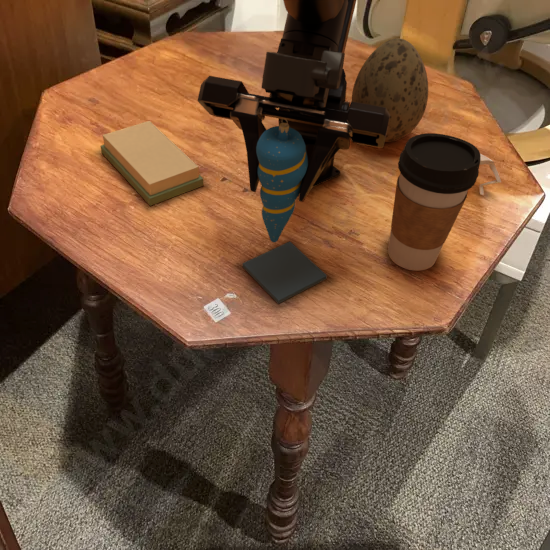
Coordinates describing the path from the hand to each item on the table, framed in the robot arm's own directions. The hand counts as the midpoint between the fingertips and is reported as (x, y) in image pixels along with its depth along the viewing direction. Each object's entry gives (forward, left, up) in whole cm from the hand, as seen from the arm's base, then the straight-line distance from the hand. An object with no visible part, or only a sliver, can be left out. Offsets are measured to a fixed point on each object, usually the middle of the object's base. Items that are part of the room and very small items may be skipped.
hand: (276, 196), depth 61 cm
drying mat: (-2, 0, -12) cm, 12 cm away
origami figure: (-32, -1, -12) cm, 34 cm away
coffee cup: (-17, +6, -12) cm, 22 cm away
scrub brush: (+1, -26, -12) cm, 28 cm away
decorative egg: (-32, -15, -12) cm, 37 cm away
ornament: (-1, -1, -7) cm, 7 cm away
